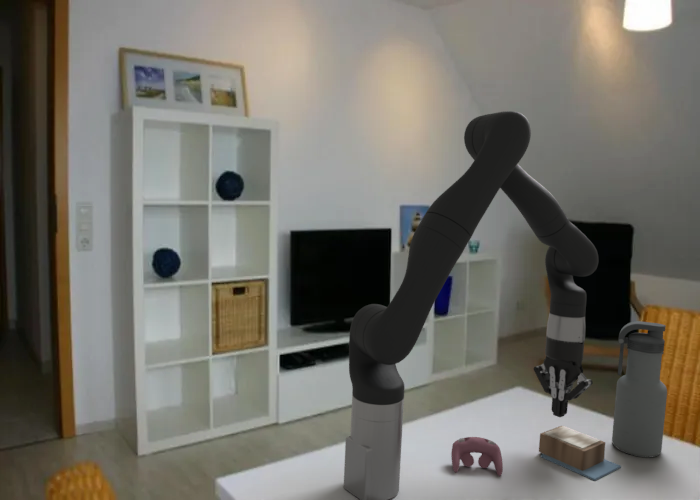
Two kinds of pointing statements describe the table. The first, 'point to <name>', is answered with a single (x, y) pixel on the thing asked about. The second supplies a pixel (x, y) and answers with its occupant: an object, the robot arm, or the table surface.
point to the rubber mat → (592, 472)
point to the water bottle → (640, 392)
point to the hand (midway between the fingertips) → (558, 415)
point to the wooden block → (572, 447)
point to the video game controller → (477, 445)
